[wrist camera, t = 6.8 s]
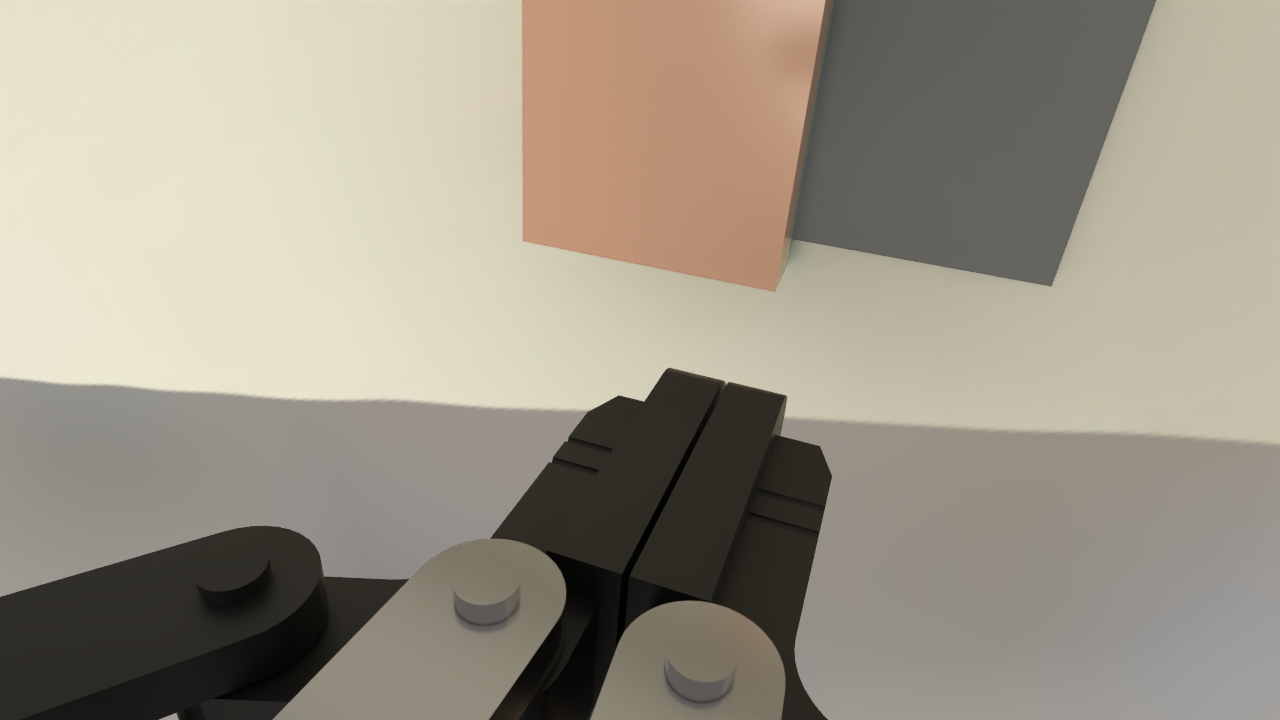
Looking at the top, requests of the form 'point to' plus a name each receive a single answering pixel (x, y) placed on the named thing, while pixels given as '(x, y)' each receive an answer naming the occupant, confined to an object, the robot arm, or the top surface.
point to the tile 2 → (670, 130)
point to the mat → (964, 128)
